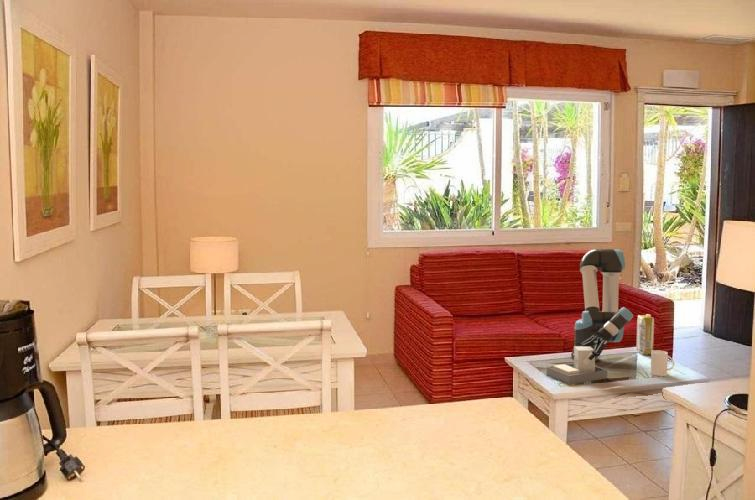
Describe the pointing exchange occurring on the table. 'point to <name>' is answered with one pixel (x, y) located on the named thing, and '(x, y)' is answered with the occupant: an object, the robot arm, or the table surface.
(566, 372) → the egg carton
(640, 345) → the juice carton
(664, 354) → the mug
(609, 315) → the robot arm
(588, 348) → the supplement box
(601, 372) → the tray
